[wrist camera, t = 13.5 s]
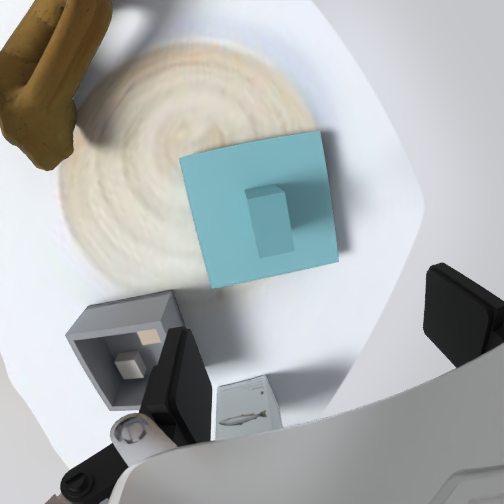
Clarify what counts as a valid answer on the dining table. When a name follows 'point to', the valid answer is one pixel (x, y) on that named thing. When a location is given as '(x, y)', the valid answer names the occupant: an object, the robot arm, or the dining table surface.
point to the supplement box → (246, 409)
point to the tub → (123, 345)
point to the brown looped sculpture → (48, 75)
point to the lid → (261, 208)
